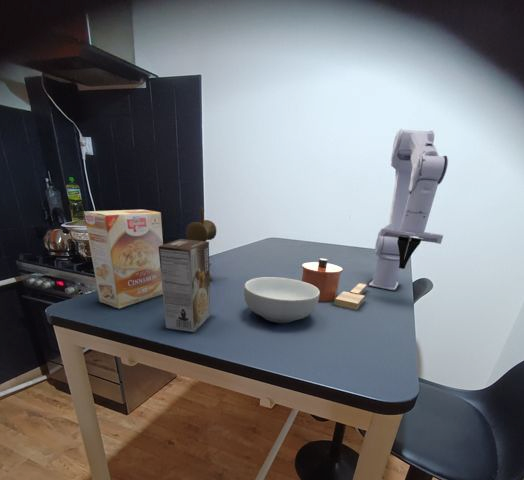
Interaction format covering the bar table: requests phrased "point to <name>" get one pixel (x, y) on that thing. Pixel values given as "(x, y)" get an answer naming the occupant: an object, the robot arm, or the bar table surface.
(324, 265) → the pot lid
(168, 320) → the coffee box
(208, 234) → the kendama
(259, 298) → the cereal bowl
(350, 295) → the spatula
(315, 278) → the pot
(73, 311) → the bar table surface
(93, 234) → the coffeecake box
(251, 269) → the bar table surface
